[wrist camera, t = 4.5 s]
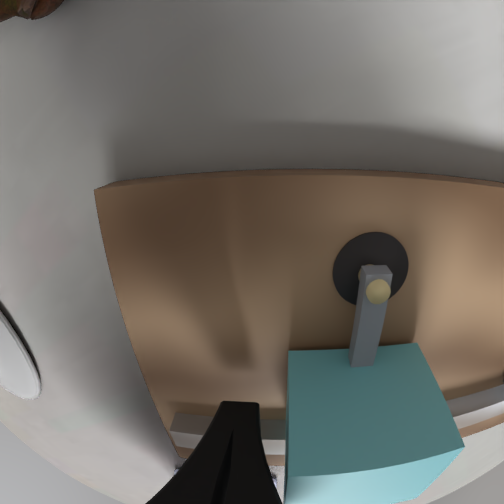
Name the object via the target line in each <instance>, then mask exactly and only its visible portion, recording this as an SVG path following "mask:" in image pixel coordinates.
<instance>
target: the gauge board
mask: <svg viewBox="0 0 504 504" xmlns="http://www.w3.org/2000/svg"><path fill="white" fill-rule="evenodd" d="M94 195H95V201H96V207H97V213H98V218H99V223H100V229H101V234H102V238H103V243H104V248H105V252H106V257H107V261H108V265H109V269H110V273H111V277H112V281H113V285H114V288H115V292H116V296H117V299H118V303H119V306H120V310H121V313H122V316H123V320H124V323H125V326H126V329H127V332H128V335H129V338H130V341H131V344H132V347H133V350H134V353H135V356H136V358H137V361H138V364H139V367H140V369H141V372H142V374H143V377H144V380H145V382H146V385H147V387H148V390H149V392H150V395H151V397H152V399H153V402H154V404H155V406H156V409H157V411H158V413H159V416H160V418H161V420H162V422H163V424H164V426H165V429H166V431H167V433H168V435H169V437H170V439H171V441H172V443H173V445H174V447H175V449H176V451H177V453H178V455H179V457H181V458H187V459H188V457H189V456H190V455H191V453H192V452H193V451H194V449H195V448H196V446H197V445H198V443H199V442H200V440H201V438H202V437H203V435H204V434H205V432H206V430H207V429H208V427H209V425H210V423H211V422H212V420H213V418H214V416H215V414H216V412H217V410H218V408H219V405H220V403H221V402H222V401H240V402H257V403H258V404H259V407H260V423H261V438H262V443H263V447H264V452H265V456H266V460H267V463H268V465H271V466H285V437H286V402H287V378H288V351H304V350H332V349H349V348H350V342H351V336H352V330H353V324H354V318H355V311H356V304H357V297H358V289H359V278H358V273H359V271H360V269H361V266H365V265H368V264H372V265H387V267H388V268H389V270H390V271H391V272H392V274H393V275H392V281H391V287H390V289H391V293H390V296H389V298H388V303H387V308H386V313H385V318H384V323H383V327H382V332H381V336H380V340H379V344H378V346H389V345H399V344H408V343H418V345H419V347H420V349H421V351H422V353H423V355H424V357H425V359H426V361H427V363H428V365H429V367H430V369H431V371H432V373H433V375H434V377H435V379H436V381H437V383H438V385H439V387H440V390H441V392H442V394H443V396H444V398H445V400H446V403H447V405H448V407H449V409H450V412H451V414H452V416H453V419H454V421H455V423H456V426H457V428H458V431H459V433H460V435H461V438H463V437H466V436H469V435H472V434H475V433H477V432H480V431H483V430H486V429H488V428H491V427H493V426H496V425H498V424H501V423H503V422H504V384H503V382H502V381H503V379H504V183H501V182H494V181H487V180H480V179H472V178H463V177H455V176H445V175H435V174H423V173H410V172H395V171H377V170H350V169H269V170H241V171H222V172H206V173H193V174H180V175H169V176H159V177H149V178H140V179H132V180H124V181H116V182H113V183H110V184H108V185H105V186H102V187H100V188H97V189H95V190H94Z"/></svg>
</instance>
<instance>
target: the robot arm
mask: <svg viewBox="0 0 504 504" xmlns="http://www.w3.org/2000/svg"><path fill="white" fill-rule="evenodd" d="M276 486H277V480H276V479H274V478H272V476H271V473H270V470H269V466H268V463H267V460H266V456H265V452H264V447H263V443H262V438H261V423H260V407H259V404H258V403H257V402H240V401H222V402H221V403H220V405H219V408H218V410H217V412H216V414H215V416H214V418H213V420H212V422H211V423H210V425H209V427H208V429H207V430H206V432H205V434H204V435H203V437H202V438H201V440H200V442H199V443H198V445H197V446H196V448H195V449H194V451H193V452H192V453H191V455H190V456H189V457H188V459H187V460H186V461H185V463H184V464H183V465H182V467H181V468H180V469H176V470H175V471H174V476H173V477H172V478H171V480H170V481H169V482H168V483H167V484H166V485H165V486H164V487H163V488H162V489H161V490H160V491H159V492H158V493H157V494H156V495H155V496H154V497H153V498H151V499H150V500H149V501H148V502H147V503H146V504H282V502H281V499H280V497H279V494H278V492H277V490H276Z"/></svg>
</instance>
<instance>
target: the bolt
mask: <svg viewBox="0 0 504 504" xmlns="http://www.w3.org/2000/svg"><path fill="white" fill-rule="evenodd" d="M63 1H64V0H0V22H2V21H5V20H7V19H9V18H11V17H14V16H18V17H23V18H26V19H29V18H31V20H36V19H39V18H42V17H45V16H47V15H49V14H50V13H52V12H53V11H55V10H56V9H57V8H58V7H59V6H60V4H61V3H62V2H63Z"/></svg>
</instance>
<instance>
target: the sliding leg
mask: <svg viewBox="0 0 504 504" xmlns="http://www.w3.org/2000/svg"><path fill="white" fill-rule="evenodd" d="M392 275H393V274H392V272H391V271H390V270H389V268H388V267H387V265H372V264H368V265H365V266H361V269H360V271H359V273H358V278H359V289H358V297H357V304H356V311H355V318H354V324H353V330H352V336H351V342H350V348H349V349H332V350H304V351H288V378H287V402H286V437H285V477H284V503H283V504H394V503H398V502H402V501H407V500H410V499H414V498H417V497H418V496H419V495H420V494H421V493H422V492H423V491H424V490H425V489H426V488H427V487H428V486H429V485H430V484H432V483H433V481H434V480H435V479H436V478H437V477H438V476H439V475H440V474H441V473H442V472H443V471H444V470H445V469H446V468H447V467H448V466H449V465H450V464H451V462H452V461H453V460H454V459H455V458H456V457H457V456H458V454H459V453H460V452H461V451H462V450H463V448H464V447H465V446H464V443H463V441H462V438H461V435H460V433H459V431H458V428H457V426H456V423H455V421H454V419H453V416H452V414H451V412H450V409H449V407H448V405H447V403H446V400H445V398H444V396H443V394H442V392H441V390H440V387H439V385H438V383H437V381H436V379H435V377H434V375H433V373H432V371H431V369H430V367H429V365H428V363H427V361H426V359H425V357H424V355H423V353H422V351H421V349H420V347H419V345H418V343H408V344H399V345H389V346H378V344H379V340H380V336H381V332H382V327H383V323H384V318H385V313H386V308H387V303H388V298H389V296H390V293H391V289H390V287H391V281H392Z"/></svg>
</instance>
